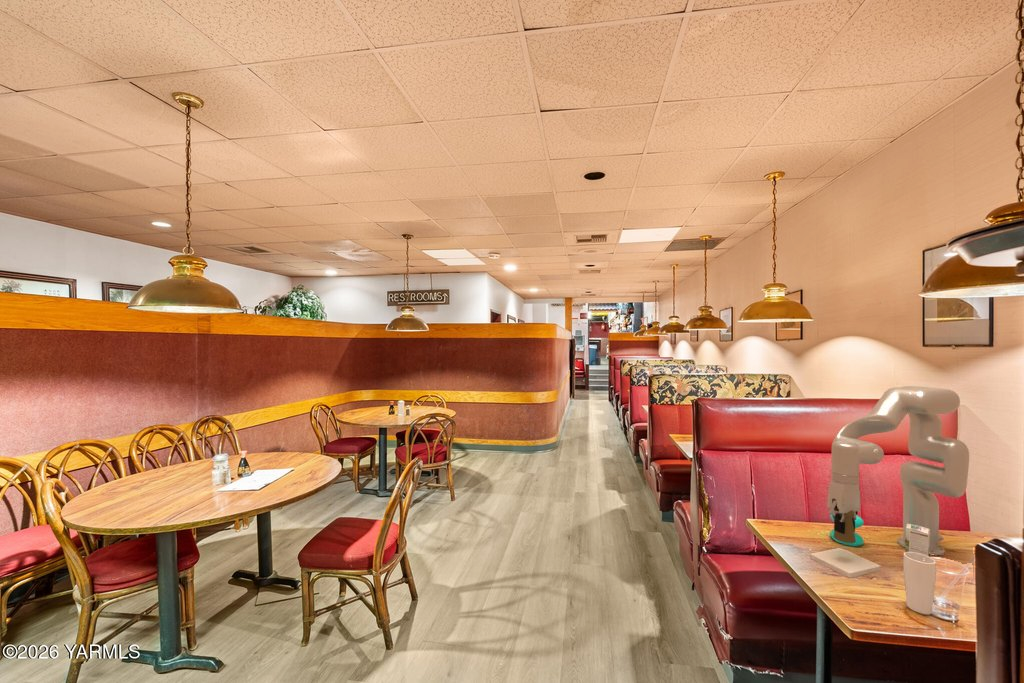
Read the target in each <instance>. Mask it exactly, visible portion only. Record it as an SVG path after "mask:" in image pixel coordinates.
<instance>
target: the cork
mask: <svg viewBox="0 0 1024 683" xmlns="http://www.w3.org/2000/svg"><path fill="white" fill-rule="evenodd" d="M837 511H839V509H837ZM837 514H838V515H839V516H840V515H841V514H839V513H837ZM853 517H854V511H849V512H848V513H844V522H845V534H842V533H839V532H837V531H834V538H835V539H837V540H839V541H842V542H846V543H855V542H856V540H855V533H856V532H855V533H854V527H853V520H852V518H853Z"/></svg>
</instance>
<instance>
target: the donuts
mask: <svg viewBox="0 0 1024 683" xmlns="http://www.w3.org/2000/svg"><path fill="white" fill-rule="evenodd" d="M829 515H830V516H829V517H830V519H831V520H832V521H833V522H834V519H833V516H832V515H831V514H829ZM864 524H865V522H864V520H863V518H861V516H859V515H858V514H857V515H856V520H855V529H859V528H861V527H862V526H864ZM834 531H835V530H834V528H833V529H831V531H830V533H829V534H830V535H829V536H830V537H831V539H832V540H833V541H835V542H837V543H839V544H841V545H845V546H850V547H861V546H862V545H864V538H863V536H861V535H860V534H859V533H857V532H856V531H855V532H854V533H855V540H856V542H855V543H846V542H842V541H839V540H837V539H835V538H834Z"/></svg>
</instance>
